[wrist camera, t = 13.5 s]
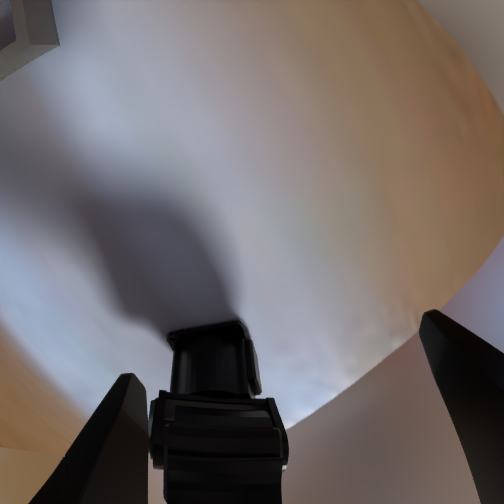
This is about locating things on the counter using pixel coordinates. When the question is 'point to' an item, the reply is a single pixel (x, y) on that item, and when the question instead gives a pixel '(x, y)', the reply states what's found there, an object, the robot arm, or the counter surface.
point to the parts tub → (29, 34)
